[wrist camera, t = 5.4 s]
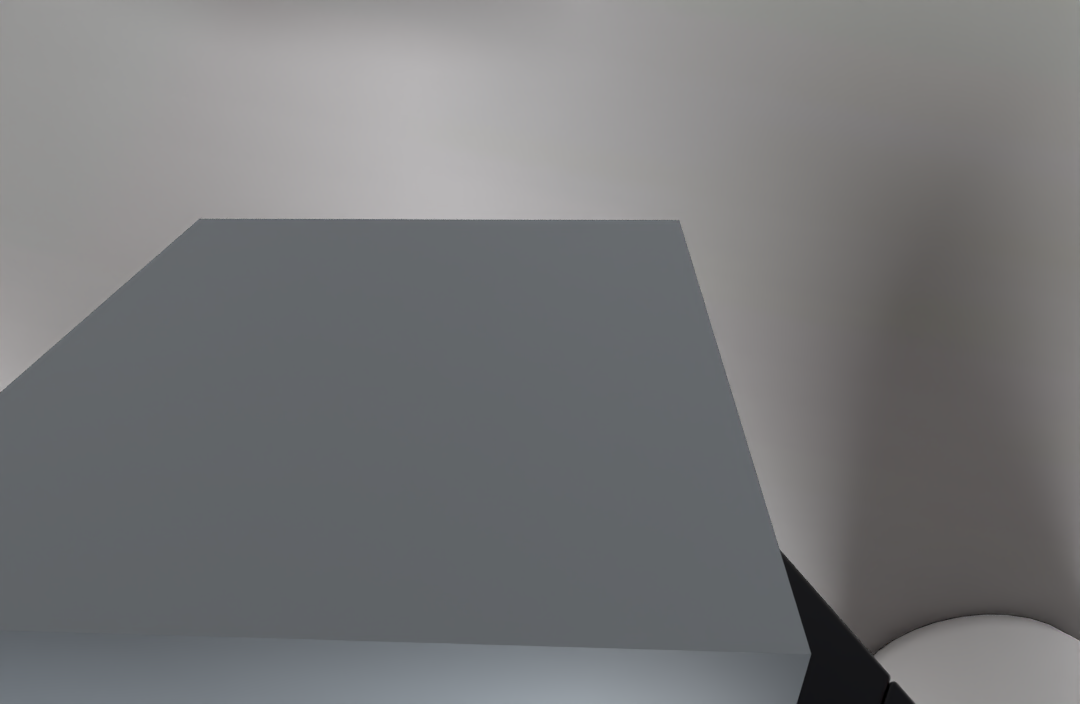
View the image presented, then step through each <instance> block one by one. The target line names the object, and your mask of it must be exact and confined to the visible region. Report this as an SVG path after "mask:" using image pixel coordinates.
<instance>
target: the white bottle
mask: <svg viewBox="0 0 1080 704" xmlns="http://www.w3.org/2000/svg"><path fill="white" fill-rule="evenodd" d="M874 657H875V659H876V660H877V661H878V662H879V663H880V664H881V665H882V667H883V668H884V669H885V670H886V671H887V672H888V673H889V675H890V676H891V680H890V682H892V681H895V682H897V683H898V684H899V686H900V687H901V688H902V689H903V690H904V691H905V692H906V693H907V695H908V696H909V697H910V698H911V699H912V700H913V701H914V703H915V704H1080V641H1079V640H1077V639H1076V638H1074V637H1072V636H1070V635H1068V634H1066V633H1064V632H1062V631H1060V630H1058V629H1056V628H1054V627H1053V626H1051V625H1049V624H1046V623H1043V622H1040V621H1037V620H1033V619H1030V618H1025V617H1018V616H1011V615H976V616H966V617H958V618H954V619H949V620H945V621H941V622H936V623H933V624H930V625H928V626H925V627H922V628H919V629H916V630H913V631H911V632H909V633H907V634H905V635H903V636H901V637H899V638H897V639H895V640H894V641H892V642H891V643H889V644H888V645H886V646H885V647H883V648H882V649H881V650H879V651H878V652H877V653H876V654H875V655H874Z"/></svg>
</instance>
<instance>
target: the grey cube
mask: <svg viewBox="0 0 1080 704" xmlns="http://www.w3.org/2000/svg"><path fill="white" fill-rule="evenodd" d="M810 657H811V652H810V648H809V645H808V642H807V638H806V635H805V632H804V629H803V625H802V622H801V619H800V615H799V612H798V609H797V606H796V602H795V599H794V596H793V592H792V589H791V586H790V583H789V579H788V576H787V573H786V569H785V566H784V563H783V560H782V556H781V553H780V550H779V546H778V543H777V540H776V537H775V533H774V530H773V527H772V523H771V520H770V517H769V514H768V510H767V507H766V504H765V500H764V497H763V494H762V491H761V487H760V484H759V481H758V477H757V474H756V471H755V468H754V464H753V461H752V458H751V454H750V451H749V448H748V445H747V441H746V438H745V435H744V431H743V428H742V425H741V422H740V418H739V415H738V412H737V408H736V405H735V402H734V399H733V395H732V392H731V389H730V385H729V382H728V379H727V376H726V372H725V369H724V366H723V362H722V359H721V356H720V353H719V349H718V346H717V343H716V339H715V336H714V333H713V330H712V326H711V323H710V320H709V316H708V313H707V310H706V307H705V303H704V300H703V297H702V293H701V290H700V287H699V284H698V280H697V277H696V274H695V270H694V267H693V264H692V261H691V257H690V254H689V251H688V247H687V244H686V241H685V238H684V234H683V231H682V228H681V224H680V221H679V220H407V219H199V220H198V221H197V222H195V223H194V224H193V225H192V226H191V227H190V228H188V229H187V230H186V231H185V232H184V233H183V234H182V235H180V236H179V237H178V238H177V239H176V240H175V241H174V242H172V243H171V244H170V245H169V246H168V247H167V248H166V249H164V250H163V251H162V252H161V253H160V254H159V255H158V256H156V257H155V258H154V259H153V260H152V261H151V262H149V263H148V264H147V265H146V266H145V267H144V268H143V269H141V270H140V271H139V272H138V273H137V274H136V275H135V276H133V277H132V278H131V279H130V280H129V281H128V282H127V283H125V284H124V285H123V286H122V287H121V288H120V289H119V290H117V291H116V292H115V293H114V294H113V295H112V296H111V297H109V298H108V299H107V300H106V301H105V302H104V303H102V304H101V305H100V306H99V307H98V308H97V309H96V310H94V311H93V312H92V313H91V314H90V315H89V316H88V317H86V318H85V319H84V320H83V321H82V322H81V323H80V324H78V325H77V326H76V327H75V328H74V329H73V330H72V331H70V332H69V333H68V334H67V335H66V336H65V337H63V338H62V339H61V340H60V341H59V342H58V343H57V344H55V345H54V346H53V347H52V348H51V349H50V350H49V351H47V352H46V353H45V354H44V355H43V356H42V357H41V358H39V359H38V360H37V361H36V362H35V363H34V364H33V365H31V366H30V367H29V368H28V369H27V370H26V371H24V372H23V373H22V374H21V375H20V376H19V377H18V378H16V379H15V380H14V381H13V382H12V383H11V384H10V385H8V386H7V387H6V388H5V389H4V390H3V391H2V392H0V704H797V701H798V698H799V694H800V691H801V687H802V684H803V681H804V677H805V674H806V670H807V667H808V664H809V660H810Z"/></svg>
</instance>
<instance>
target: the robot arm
mask: <svg viewBox="0 0 1080 704" xmlns="http://www.w3.org/2000/svg"><path fill="white" fill-rule="evenodd" d="M779 550H780V549H779ZM780 553H781V556H782V560H783V563H784V566H785V569H786V573H787V576H788V579H789V583H790V586H791V589H792V592H793V596H794V599H795V602H796V606H797V609H798V612H799V615H800V619H801V622H802V625H803V629H804V632H805V635H806V638H807V642H808V645H809V648H810V652H811V657H810V660H809V664H808V667H807V670H806V674H805V677H804V681H803V684H802V687H801V691H800V694H799V698H798V701H797V704H915V703H914V701H913V700H912V699H911V698H910V697H909V696H908V695H907V693H906V692H905V691H904V690H903V689H902V688H901V687H900V686H899V684H898V683H897V682H895V681H892V682H890V680H891V676H890V675H889V673H888V672H887V671H886V670H885V669H884V668H883V667H882V665H881V664H880V663H879V662H878V661H877V660H876V659H875V657H874V656H873V655H872V654H871V653H870V652H869V651H868V649H867V648H866V647H865V646H864V645H863V644H862V643H861V641H860V640H859V639H858V638H857V637H856V636H855V635H854V634H853V632H852V631H851V630H850V629H849V628H848V627H847V626H846V624H845V623H844V622H843V621H842V620H841V619H840V618H839V616H838V615H837V614H836V613H835V612H834V611H833V610H832V608H831V607H830V606H829V605H828V604H827V603H826V602H825V600H824V599H823V598H822V597H821V596H820V595H819V594H818V593H817V591H816V590H815V589H814V588H813V587H812V586H811V585H810V583H809V582H808V581H807V580H806V579H805V578H804V577H803V575H802V574H801V573H800V572H799V571H798V570H797V569H796V567H795V566H794V565H793V564H792V563H791V562H790V561H789V559H788V558H787V557H786V556H785V555H784V554H783V553H782V552H781V550H780Z"/></svg>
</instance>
